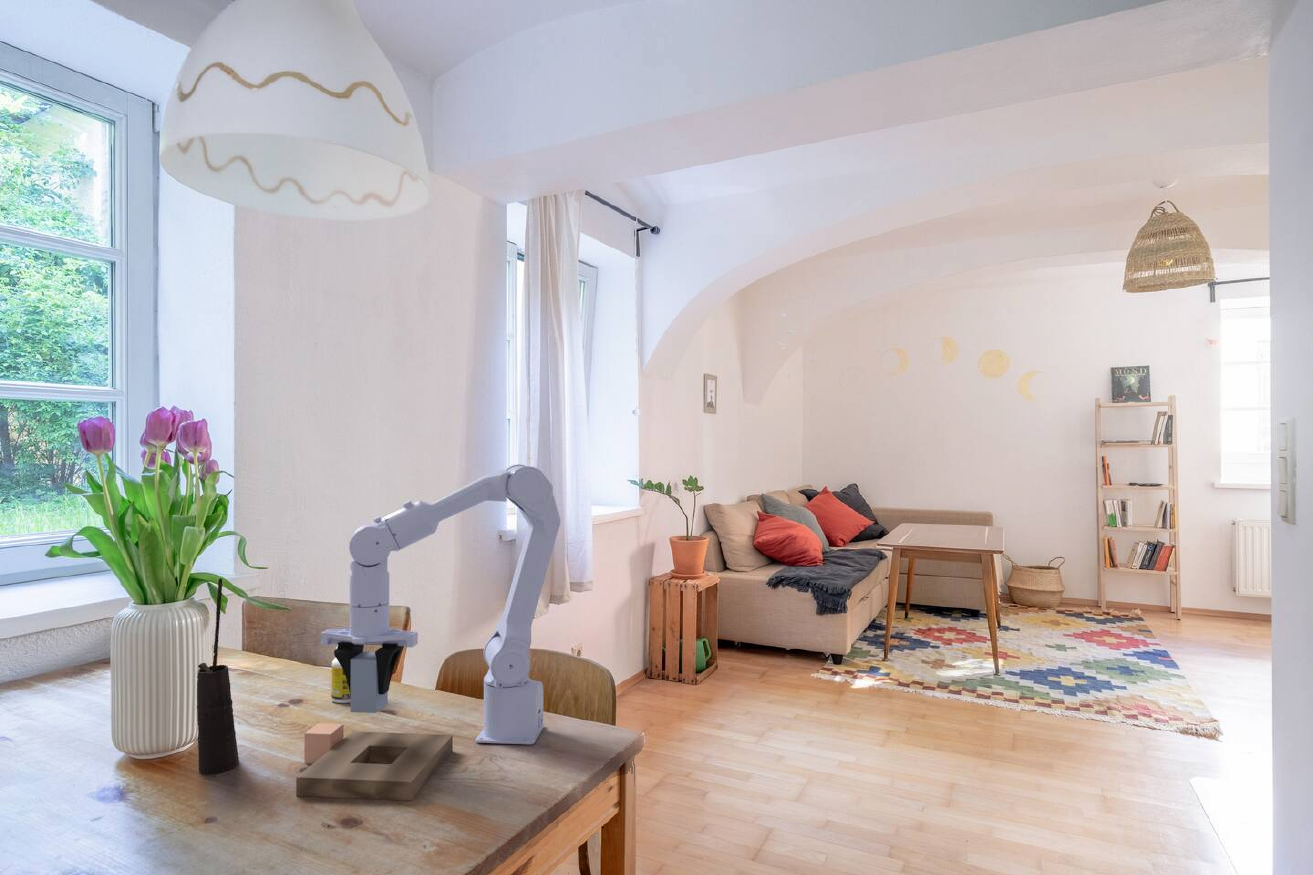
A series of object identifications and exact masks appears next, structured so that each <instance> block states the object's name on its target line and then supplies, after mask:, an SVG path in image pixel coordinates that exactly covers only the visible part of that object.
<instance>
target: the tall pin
mask: <svg viewBox="0 0 1313 875" xmlns="http://www.w3.org/2000/svg"><path fill="white" fill-rule="evenodd" d="M388 692H389V691H387V692H386V693H385V694H383V695H381V694H379V691H378V666H377V660H376V656H375V651H363V652H362V653H360V654H359V655H357V656H355V657H354V658H352V659H351V702H350V713H368V714H369V713H371V714H377V713H378V712H379V711H380V710H382V709H383V708H384V707H386V706H387V705H388V700H389V699H388V698H389V695H388Z"/></svg>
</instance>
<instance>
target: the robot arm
mask: <svg viewBox="0 0 1313 875" xmlns="http://www.w3.org/2000/svg"><path fill="white" fill-rule="evenodd" d="M553 489H554V488H553V485H552V483H551V482H550V480H549V479H548V478H547V476H546V475H545V474H544V473H543V471H541V470H540V469H538V468H537V467H534V466H531V465H530V466H527V465H525V464H513V465H510V466H508V467H507V468H506V469H499V470H497V471H494V472H491V473H488V474H486V475H484V476H481V477H480V478H478V479H475V480H474V481H472V482H470V483H468V484H466V485H465V486H462V487H460V488H459V489H456V490H455V491H453V492H450V493H448V494H447V495H446V496H443V497H441V498H439V499H438V500H437V499H436V500H435V501H433V502H431V503H428V502H425V501H422V500H417V501H415V502H413V503H412V500H408V501H405V502H404V503H402V506H403V508H402V507H401V508H400V509H398V510H396V511H394V512H391V513H390V514H387V515H385V516H383V517H381V515H379V516H376V517H375V518H373V522H374V524H364V525H362V526H360V527H358V528H357V529H356V530H355V531H354V532H353V533H352V535H351V538H350V541H349V544H348V545H349V553H350V555H351V557H352V558H351V561H350V571H351V573H350V574H349V628H342V629H341V628H337V629H329V628H328V629H326V630H324V631H322V632H320V634H321V635H320V637H321V638H320V641H321V643H320V644H321V646H329V645H337V646H338V647H337V646H336V647H337V649H336V648H335V649H334V650H333V656H334V658H337V660H338V661H339V663H340V665H341V667H342V669H343V671H344V674H345V676H346V680H347V683H348V687H349V691H350V693H351V659H352V658H354V657H355V656H357V655H359V654H360V653H362V652H364V647H365V646H381V647H379V648H378V649H376V650H375V651H374V652H375V656H376V660H377V666H378V691H379V694H381V695H383V694H385V693H386V692H387V691H388V692H389V690H390V686H391V680H392V677H393V674H394V670H395V669H396V668H395V667H396V664H397V662H398V661H399V658H400V656H401V654H402V652H403V650H404V648H405V647H406V648H414V647H415V646H417V645H418V643H419V638H418V635H419V634H418V633H419V632H418V631H411V630H409V631H408V630H402V629H394V628H390V572H389V571H388V557H389V556H390V554H391V552H399V551H401V550H403V549H405V548H407V547H409V546H411V545H413V544H416V543H417V542H419V541H421V540H424V539H425V538H427V537H429V536H433V535H434V534H435V533H436V532H437V529H438V527H439V524H440V522H442V521H444V520H445V519H448V518H451V517H453V516H454V515H457V514H459V513H462V512H463V511H466V510H468V509H470V508H472V507H475V506H477V505H479V504H482V503H484V502H486V501H490V502H504V503H506V502H507V501H508V500H509V501H510V502H511V503H512V504H514V506H516V507H517V509H518V510H519V511H520V513H521V514H522V516H523V518H524V519H525V521H526V523H527V529H526V533H525V536H524V540H523V542H522V547H521V549H520V554H519V556H518V561H517V563H516V568H515V571H514V575H513V578H512V581H511V586H510V589H509V592H508V594H507V595H508V596H507V599H506V603H505V605H504V609H503V612H502V616H501V617H500V619H499V620H498V622H497V624H496V625H495V630H494V632H493V634H492V635H491V636H490V638H488V640H487V641H486V643H485V645H484V648H483V652H482V653H483V658H484V659H483V660H484V661H485V663H486V664H487V666H488V667H489V668H488V670H487V673H486V675H485V676H484V677H483V729H482V730H481V732H480V733H479V734H478V735H477V737H475V740H474V741H475V743H479V744H480V743H482V744H483V743H484V744H485V743H486V744H508V745H509V744H511V745H533V744H535V742H536V741H537V739H538V737H539V736H540V734H541V732H542V730H543V729H544V727H545V723H544V685H543V681H540V680H534V679H531V678H530V676H529V673H530V670H531V666H532V665H531V658H530V648H531V644H532V624H533V622H534V617H535V614H536V611H537V608H538V607H537V606H538V604H539V601H540V596H541V592H542V589H543V587H544V582H545V579H546V575H547V572H548V569H549V565H550V560H551V558H552V553H553V551H554V548H555V547H554V546H555V544H556V540H557V536H558V533H559V529H560V526H561V517H560V516H561V515H560V513H559V509H558V505H557V503H556V499H555V494H554V491H553ZM507 499H508V500H507Z"/></svg>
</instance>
